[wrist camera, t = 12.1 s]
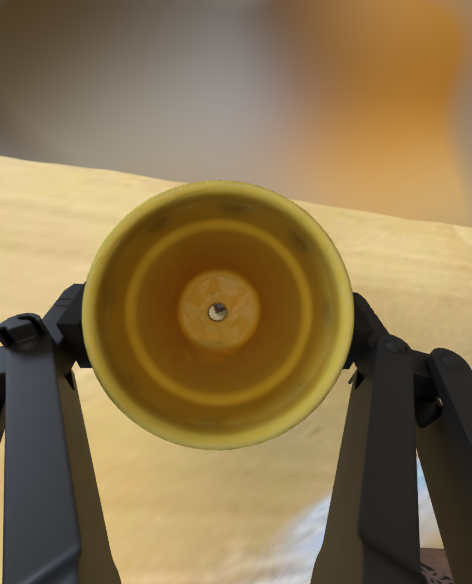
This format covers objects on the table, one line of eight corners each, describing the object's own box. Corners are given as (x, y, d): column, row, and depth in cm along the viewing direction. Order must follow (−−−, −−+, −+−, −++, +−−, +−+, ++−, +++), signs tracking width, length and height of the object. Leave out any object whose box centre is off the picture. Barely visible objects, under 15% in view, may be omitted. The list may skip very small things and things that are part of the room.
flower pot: (217, 411, 18) (221, 523, 8) (119, 310, 18) (11, 305, 8) (311, 312, 19) (408, 310, 10) (220, 219, 19) (227, 124, 10)
